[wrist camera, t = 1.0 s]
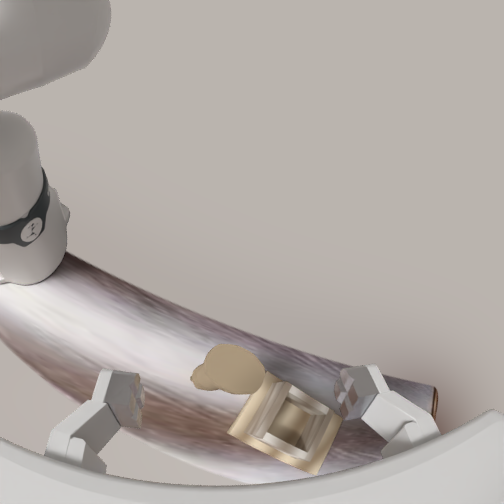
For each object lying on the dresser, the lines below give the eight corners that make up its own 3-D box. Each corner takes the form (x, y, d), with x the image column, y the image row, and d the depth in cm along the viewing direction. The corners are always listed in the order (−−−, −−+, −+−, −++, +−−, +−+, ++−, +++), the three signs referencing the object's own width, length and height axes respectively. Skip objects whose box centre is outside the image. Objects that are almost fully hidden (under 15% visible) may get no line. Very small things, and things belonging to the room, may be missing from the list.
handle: (188, 355, 40) (217, 335, 28) (225, 374, 41) (270, 361, 29) (174, 382, 37) (198, 376, 25) (213, 401, 38) (255, 402, 26)
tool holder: (226, 432, 36) (240, 436, 32) (264, 371, 43) (280, 367, 39) (312, 474, 37) (331, 478, 32) (339, 418, 44) (359, 417, 40)
